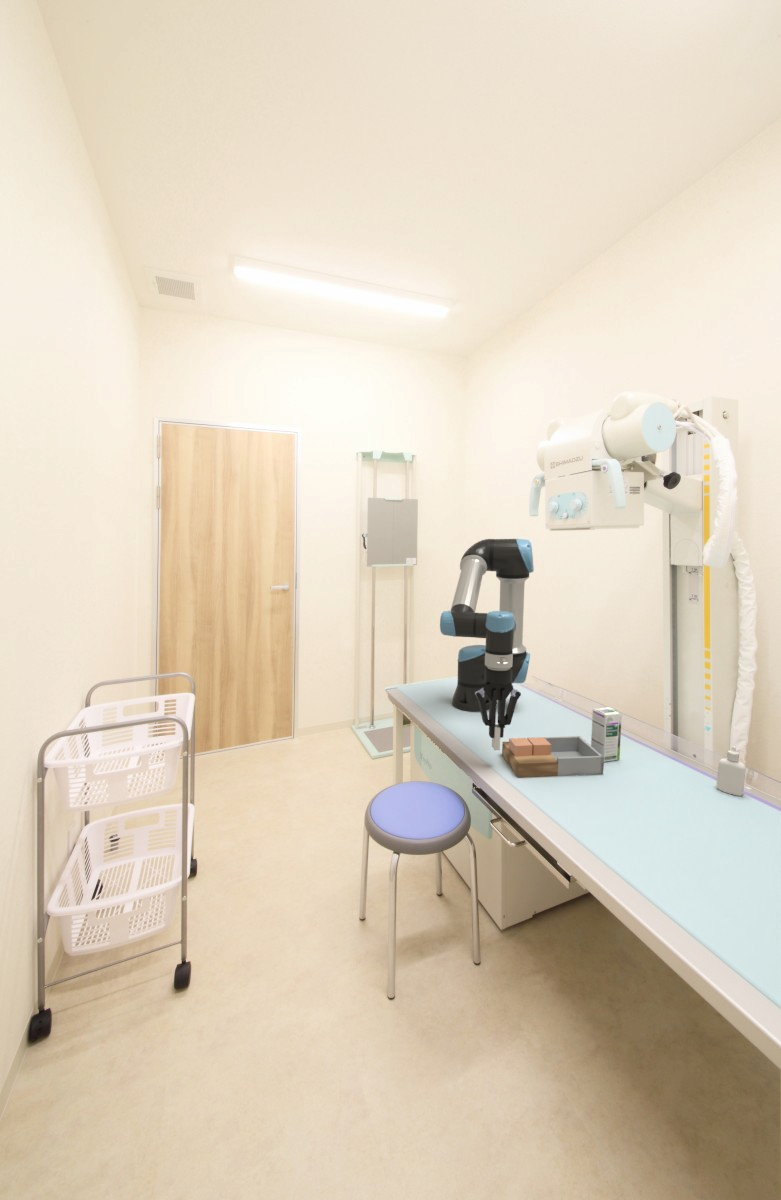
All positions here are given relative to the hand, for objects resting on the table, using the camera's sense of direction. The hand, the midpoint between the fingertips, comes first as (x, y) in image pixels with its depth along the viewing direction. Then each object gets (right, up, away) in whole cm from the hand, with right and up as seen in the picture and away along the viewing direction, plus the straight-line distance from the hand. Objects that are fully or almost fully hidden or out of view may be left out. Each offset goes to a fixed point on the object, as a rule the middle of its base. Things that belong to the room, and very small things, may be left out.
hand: (495, 747), depth 134 cm
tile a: (+7, -1, +1) cm, 7 cm away
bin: (+22, -5, +2) cm, 22 cm away
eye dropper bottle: (+58, -8, -12) cm, 59 cm away
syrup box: (+34, -5, +7) cm, 35 cm away
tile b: (+13, -1, +1) cm, 13 cm away
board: (+10, -5, +1) cm, 11 cm away
